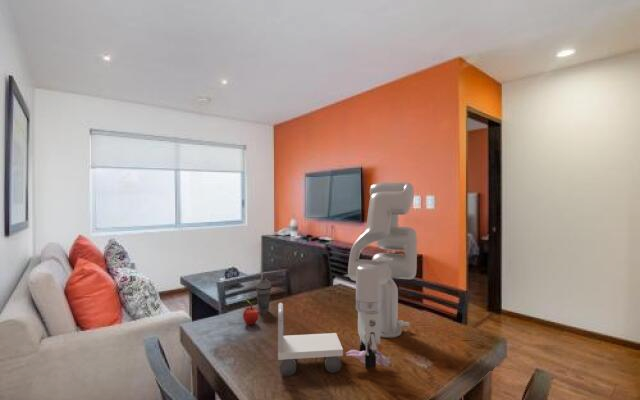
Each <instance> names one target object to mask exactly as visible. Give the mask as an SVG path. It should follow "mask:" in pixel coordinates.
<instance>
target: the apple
mask: <svg viewBox="0 0 640 400" xmlns="http://www.w3.org/2000/svg"><path fill="white" fill-rule="evenodd" d="M243 302H248V304H249V305H250V306H248V307H246V308H245V309H244V310H243V314H242V317H243V320H244V323H245V324H246V325H247V326H254V325H255V324H256V323H257V321H258V320H259V314H260V313H259V310H258V309H257V308H255V307H253V304H252V303H251V302H250V300H247V299H245V300H243Z"/></svg>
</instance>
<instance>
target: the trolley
mask: <svg viewBox="0 0 640 400" xmlns="http://www.w3.org/2000/svg"><path fill="white" fill-rule="evenodd" d="M277 311H278V312H277V360H278V361H280V362H279V372H280V374H282V376H284V377H291V376H293V375H294V374H295V373H296V371H297V363H296V360H298V359H299V360H301V359H313V358H314V359H315V358H325V360H324V366H325V369H326V371H327V372H329V373H330V374H336V373H338V372H339V371H340V370H341V368H342V360H341V358H340V357H344V348H343V347H342V344H341V341H340V339H339V337H338V334H337V333H336V332H332V333H331V332H330V333H328V332H327V333H311V334H310V333H309V334H291V335H284V304H283V303H282V302H279V303H278V304H277Z"/></svg>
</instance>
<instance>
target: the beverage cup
mask: <svg viewBox="0 0 640 400" xmlns="http://www.w3.org/2000/svg"><path fill="white" fill-rule="evenodd" d="M260 274H261V275H260V276H261V279H259V280H258V281H256V285H255V291H256V296H257V297H256V298H257V299H256V300H257V308H258V309H257V310H258V312H259V314H262V313H264V314H267V312H268V313H269V309H270V302H271V301H270V300H271V290H272V284H271V282H270V280H268V279H267V278H264V277H263V270H262V269H260Z"/></svg>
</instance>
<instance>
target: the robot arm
mask: <svg viewBox="0 0 640 400" xmlns="http://www.w3.org/2000/svg"><path fill="white" fill-rule="evenodd" d="M369 195H370V198H369V204H368V211H367V219H366V227H365V231H364V232H363V233H361V234H360V235H359V236H358V237H357V239H355V241H354V243H353V244H352V246H351V249H350V251H349V257H348V258H349V259H348V266H347V275H348V277H349V279H350V280H352V281H354V282H355V310H356V311H357V333H358V336H359V351H366V354H365V364H364V365H365V368H366V369H374V368H376V367H377V364H376V358H377V357H376V351H378V349H377V348H378V347H377V346H380V345H381V338H388V339H389V338H391V339H392V338H397V337H399V336H401V335H402V331H403V330H402V329H403V328H410V327H411V326H410V322H409V321H404V320H399V319H398V318H399V317H398V314H399V311H398V310H399V309H398V306H399V305H398V303H399V302H398V301H399V298H398V297H399V293H398V292H399V291H398V286H397V284H396V282H395V281H394V280H393V279H402V280H413V279H414V278H415V277H416V275H417V268H418V264H417V263H418V261H417V260H418V259H417V257H418V235H417V233H416V230H415V229H414V228H412V227H410V226H409V227H408V226H399V216H401V215H402V216H404V215H407V214H408V213H409V211H410V209H411V207H412V204H413V200H414V197H415V196H414V195H415V190H414V187H413V185H412V184H411V183H410V182H378V183H374V184H372V185H370V188H369ZM375 242H376V246H377V247H378V248H380V249H382V250H390V251H400V252H401V251H403V252H404V253H403V254H402V253H391V252H378V253H376V254H374V255H373V256H372V259H362V258H361V259H360V255H361V252H362V251H363V250H364V248H366V247H367V246H369V245H371V244H373V243H375Z"/></svg>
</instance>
